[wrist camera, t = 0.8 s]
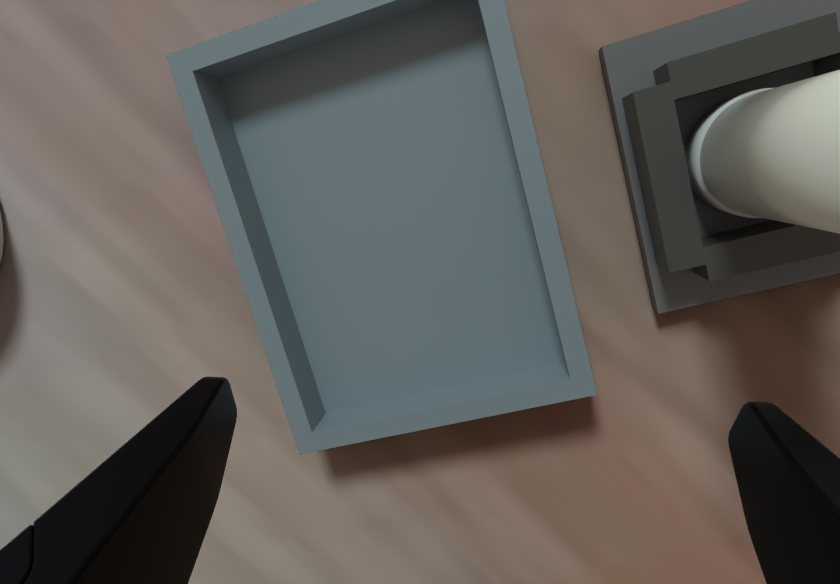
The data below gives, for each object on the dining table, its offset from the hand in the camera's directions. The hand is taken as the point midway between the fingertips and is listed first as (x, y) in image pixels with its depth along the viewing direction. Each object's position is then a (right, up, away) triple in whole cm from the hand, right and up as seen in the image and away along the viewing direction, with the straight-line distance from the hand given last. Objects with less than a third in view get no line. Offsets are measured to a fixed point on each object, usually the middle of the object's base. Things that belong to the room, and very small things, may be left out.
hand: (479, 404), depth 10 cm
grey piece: (+11, +7, +11) cm, 17 cm away
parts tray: (-2, +5, +13) cm, 14 cm away
